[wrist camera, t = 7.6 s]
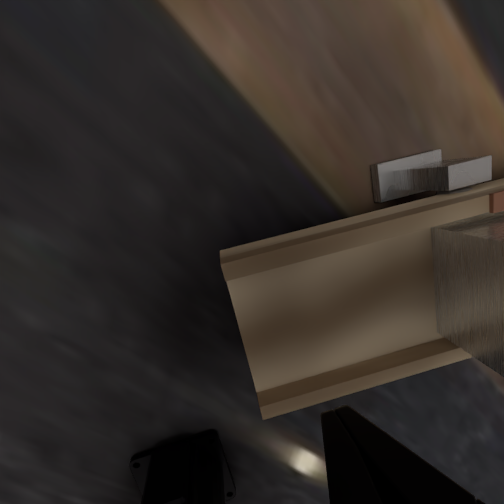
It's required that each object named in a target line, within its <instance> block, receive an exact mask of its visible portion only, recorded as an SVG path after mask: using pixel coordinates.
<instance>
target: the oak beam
mask: <svg viewBox="0 0 504 504" xmlns="http://www.w3.org/2000/svg"><path fill="white" fill-rule="evenodd" d="M501 211H504V178H502V179H498V180H494V181H490V182H486V183H482V184H478V185H475V186H471V187H462V188H458V189H454V190H450V191H439V192H437V193H436V195H435V196H432V197H428V198H424V199H420V200H416V201H412V202H408V203H404V204H400V205H396V206H392V207H388V208H385V209H381V210H377V211H373V212H369V213H365V214H361V215H357V216H353V217H349V218H345V219H341V220H338V221H334V222H330V223H326V224H322V225H318V226H314V227H310V228H306V229H302V230H298V231H295V232H291V233H287V234H283V235H279V236H275V237H271V238H267V239H263V240H259V241H255V242H251V243H248V244H244V245H240V246H236V247H232V248H228V249H224V250H220V263H221V268H222V271H223V275H224V279H225V282H227V285H228V289H229V293H230V296H231V300H232V304H233V307H234V311H235V315H236V318H237V322H238V326H239V330H240V333H241V337H242V341H243V344H244V348H245V352H246V355H247V359H248V363H249V366H250V370H251V374H252V377H253V381H254V385H255V388H256V392H257V397H258V402H259V407H260V411H261V414H262V418H263V420H265V419H268V418H272V417H275V416H278V415H282V414H285V413H288V412H292V411H295V410H298V409H301V408H305V407H308V406H311V405H315V404H318V403H321V402H325V401H328V400H331V399H335V398H338V397H341V396H345V395H348V394H351V393H355V392H358V391H361V390H365V389H368V388H371V387H374V386H378V385H381V384H384V383H388V382H391V381H394V380H398V379H401V378H404V377H408V376H411V375H414V374H418V373H421V372H424V371H428V370H431V369H434V368H438V367H441V366H444V365H447V364H451V363H454V362H457V361H461V360H464V359H467V358H471V357H473V356H472V355H470V354H469V353H467V352H466V351H464V350H463V349H461V348H460V347H458V346H457V345H455V344H454V343H452V342H451V341H449V340H448V339H446V338H445V337H443V336H442V335H440V334H439V333H437V323H436V306H435V290H434V274H433V257H432V241H431V227H434V226H438V225H442V224H446V223H449V222H453V221H457V220H461V219H465V218H468V217H472V216H476V215H480V214H484V213H487V212H489V213H497V212H501Z"/></svg>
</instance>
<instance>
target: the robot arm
mask: <svg viewBox="0 0 504 504" xmlns="http://www.w3.org/2000/svg"><path fill="white" fill-rule="evenodd" d="M321 424H322V433H323V442H324V452H325V461H326V470H327V480H328V489H329V499H330V504H485V503H484V502H482V501H481V500H479V499H477V500H476V498H475V496H474V495H472V494H471V493H469V492H468V491H467V490H465V489H464V488H462V487H461V486H460V485H458V484H457V483H456V482H454V481H453V480H451V479H450V478H449V477H447V476H446V475H444V474H443V473H442V472H440V471H439V470H437V469H436V468H435V467H433V466H432V465H430V464H429V463H428V462H426V461H425V460H423V459H422V458H421V457H419V456H418V455H416V454H415V453H414V452H412V451H411V450H409V449H408V448H407V447H405V446H404V445H403V444H401V443H400V442H398V441H397V440H396V439H394V438H393V437H391V436H390V435H389V434H387V433H386V432H384V431H383V430H382V429H380V428H379V427H377V426H376V425H375V424H373V423H372V422H370V421H369V420H368V419H366V418H365V417H363V416H362V415H361V414H359V413H358V412H356V411H355V410H354V409H352V408H351V407H350V406H348V405H344V406H340V407H337V408H335V409H334V410H328V411H325V412H322V413H321ZM210 438H213V439H210ZM136 462H138V463H136ZM129 467H130V470H131V472H132V474H133V476H134V478H135V480H136V483H137V485H138V487H139V489H140V491H141V494H142V501H141V504H225V501H227V500H229V499H232V498H234V497H235V495H236V487H235V484H234V481H233V478H232V475H231V472H230V469H229V466H228V463H227V460H226V457H225V454H224V451H223V448H222V445H221V442H220V439H219V436H218V433H217V432H215V431H208V432H205V433H202V434H199V435H196V436H193V437H190V438H187V439H183V440H180V441H177V442H174V443H171V444H168V445H165V446H162V447H159V448H155V449H152V450H149V451H146V452H143V453H140V454H137V455H134V456H133V457H132V458H131V461H130V464H129Z"/></svg>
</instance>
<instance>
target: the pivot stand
mask: <svg viewBox="0 0 504 504" xmlns="http://www.w3.org/2000/svg"><path fill="white" fill-rule="evenodd" d="M370 167H371V176H372V185H373V194H374V202H385V201H389V200H393V199H397V198H401V197H405V196H408V195H412V194H416V193H420V192H424V191H428V190H435V191H450V190H454V189H458V188H462V187H466V186H469V185H473V184H477V183H481V182H485V181H489V180H492V155H490V156H481V157H471V158H462V159H452V160H443V161H442V160H441V149H438V150H431V151H427V152H423V153H419V154H415V155H411V156H407V157H403V158H399V159H395V160H391V161H387V162H382V163H378V164H374V165H370Z"/></svg>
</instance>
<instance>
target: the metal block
mask: <svg viewBox="0 0 504 504" xmlns="http://www.w3.org/2000/svg"><path fill="white" fill-rule="evenodd" d="M431 241H432V257H433V274H434V290H435V306H436V323H437V333H439V334H440V335H442V336H443V337H445V338H446V339H448V340H449V341H451V342H452V343H454V344H455V345H457V346H458V347H460V348H461V349H463V350H464V351H466V352H467V353H469V354H470V355H472V356H473V357H475V358H476V359H478V360H479V361H481V362H482V363H483V364H485V365H486V366H488V367H489V368H491V369H492V370H494V371H495V372H497V373H498V374H500V375H501V376H503V377H504V211H501V212H497V213H489V212H487V213H484V214H480V215H476V216H472V217H468V218H465V219H461V220H457V221H453V222H449V223H446V224H442V225H438V226H434V227H431Z"/></svg>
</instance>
